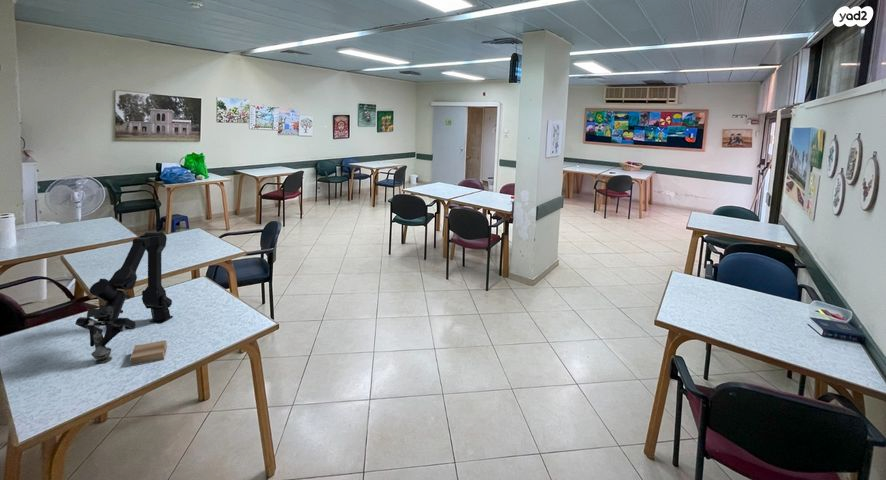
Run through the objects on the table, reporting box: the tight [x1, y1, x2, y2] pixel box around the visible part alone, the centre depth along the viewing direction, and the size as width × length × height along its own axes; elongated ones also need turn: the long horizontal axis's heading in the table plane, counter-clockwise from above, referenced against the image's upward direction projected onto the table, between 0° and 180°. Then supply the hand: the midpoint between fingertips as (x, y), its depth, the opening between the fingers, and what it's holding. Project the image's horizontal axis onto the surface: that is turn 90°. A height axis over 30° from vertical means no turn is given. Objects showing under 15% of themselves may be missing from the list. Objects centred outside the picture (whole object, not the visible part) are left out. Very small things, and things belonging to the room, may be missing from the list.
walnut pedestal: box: [129, 339, 168, 366], centre depth 166 cm, size 10×10×3 cm
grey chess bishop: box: [91, 331, 113, 365], centre depth 162 cm, size 6×6×12 cm
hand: (96, 346), depth 160 cm, fingers closed on grey chess bishop, 4 cm apart
